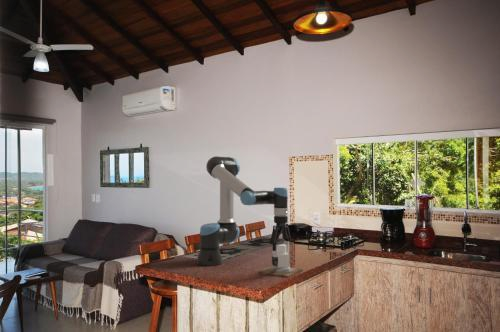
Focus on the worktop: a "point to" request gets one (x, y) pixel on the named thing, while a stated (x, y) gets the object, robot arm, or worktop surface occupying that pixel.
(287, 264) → the medicine bottle
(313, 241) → the worktop surface
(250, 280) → the worktop surface
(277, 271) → the stand
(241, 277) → the worktop surface
